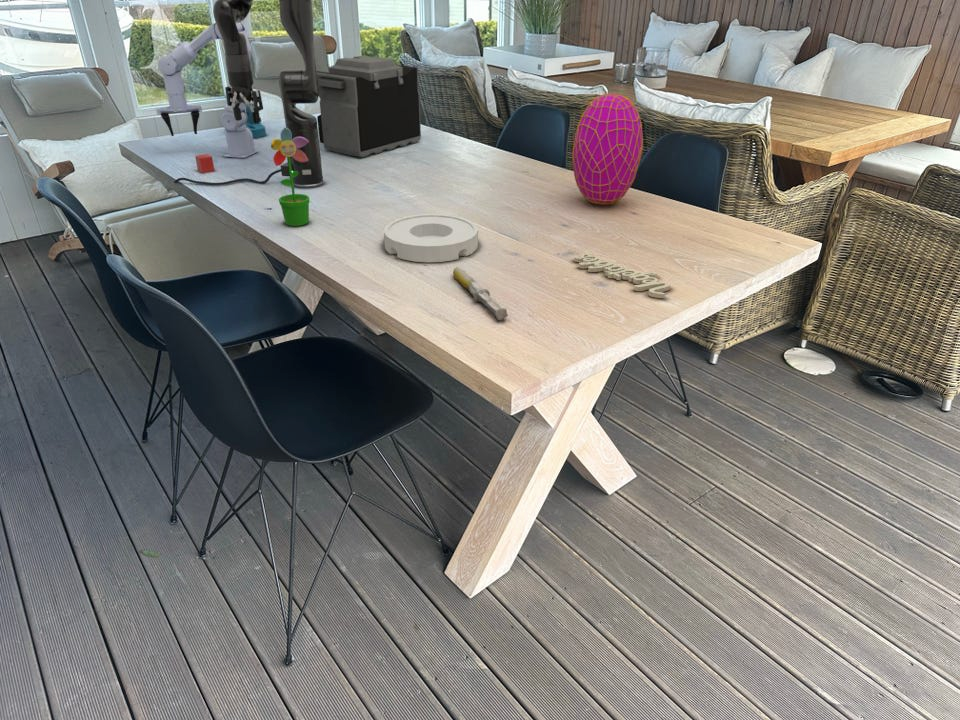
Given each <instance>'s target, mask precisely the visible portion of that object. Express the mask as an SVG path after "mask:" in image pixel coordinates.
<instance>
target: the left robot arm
mask: <svg viewBox="0 0 960 720" xmlns="http://www.w3.org/2000/svg"><path fill="white" fill-rule="evenodd" d="M236 26H237V29H238V31H239V32H240V33H242V34H244V35H245V37H246V41H247V48H248V54H249V58H250V60H251V59H252V46H251V43H250V40H249V37H248V34H247V27H246V26H245V25H244V23H243V21H242V22H240V23H236ZM215 40H222V41H223V39H222V37H221V35H220V32H219V30H218V27H217V25H216V22H213V23H212V24H210V25H209V26H208V27H206V28H205V29H204V30H203V31H202V32H201V33H199V34H198V35H197V36H196V37H194V38H193V39H192V40H191V41H180V42H178V43H177V44H176V45H177V47H175V48H174V49H173V50H168V51H167V55H163V56H160V58H159V59H158V60H157V68H158V70H159V72H160V73H162V78H163V82H164V87H165V92H166V95H167V100H168V101H167V102H168V106H166V107H165V106H164V107H156V108H155V110H156V114H157V116H160V117H161V119H162V120H163V121H164V123H165V124H166V126H167V128H168V130H169V132H170V136H171V137H174V136H175V134H174V131H173V128H172V121H171V117H170V115H173V114H174V115H175V114H187V113H190V116H191V121H192V126H193V127H192V128H193V133H194V135H198V124H199V123H198V122H199V119H200V116H201V115H200V113H202V112H203V108H202V105H200V104H199V105H188V102H187V98H186V97H187V96H186V93H185V88H184V83H183V78H182V77H183V76H182V71H183V69H184V68H185V67H186V66H187V65H188V64H190V63H191V62H193V61H194V60H195V59H196V58H197V57H198V51H200V50H201V49H203V48H204V47H205V46H207V45H209V44H210V43H211V42H212V41H215ZM229 86H231V85H230V84H229ZM230 101H232V99H231V98H230ZM239 108H240V110H241V116H242V120H239V121H237V120H235V117H234V111H233V108H232V107H231V106H228V105H227V102H226V104H225V106H224V108H223V109H224V110H223V112H222V114H221V115H220V117H219V121H220V124H221V126H222V127H223V129H224V132H225V137H226V144H227V150H228V151H227V152H228V153H227V154H226V153H225V154H224V155H223V156H224V157H226V158H236V159H238V158H239V159H246V158H247V157H250V156H251V155H254V154H256V153H258V150H256V148H255V142H254V141H255V140H254V138H253V135H252V132H251V131H250V129H248V128H247V127H246V125H245V123H246V122H247V114H246V105H245V103H241V104H240V107H239Z"/></svg>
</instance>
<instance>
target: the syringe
mask: <svg viewBox="0 0 960 720" xmlns="http://www.w3.org/2000/svg"><path fill="white" fill-rule="evenodd" d="M452 274H453V277H454V279H455V280H457V281H458V282H459V283H460V285H462V287H464V289H466V290H467V291H468V293H470V295H471V296H472V298H473V300H474V302H477V303H478V302H480V303H482V304H483V305H484V306H485V307H486V308H487V309H488V310H489V311H490V312H491V313H492V314H493V315H494V316H495V317H496V320H497V321H503V320H504V319H506V318H507V317H509V314H508V310H507V308H506V307H502V306H501V305H500V303H498V302H497V301H496V300H494V299H493V298H492V297H491V296H490V295H491V293H490V290H488V289H486V288H483V287H482V286H481V285H480V284H479V283H478V282H477V281H476V280H474V278H473V277H471V275H469V274H468V273H467V272H466V270H465V269H464V268H463V267H462V266H456V267H454V268H453V271H452Z"/></svg>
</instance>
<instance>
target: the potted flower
mask: <svg viewBox="0 0 960 720" xmlns="http://www.w3.org/2000/svg"><path fill="white" fill-rule="evenodd" d="M307 143H309V141H308V140H307V139H305V138H304V137H300V136H299V137H295V138H293V139H292V134H291V131H290V130H289V129H288V128H286V127H284V128H283V129H282V130H281V131H280V139H279V138H273V139H272V141H271V145H270V148H271V149H272V150H274V151H275V153H274V155H273V163H274V165H275V167H277V166H281V165H283V164H284V163H285V161H286V160H287V158H288V161H287V162H288V165H289V173H290V176H289V178H284V179H282V180H281V181H280V184H281V185H282V186H285V187H291V193H290V194H286V195H282V196H280V197H279V198H278V202H279V205H280V207H281V210H282V215H283V219H284V223H285V225H287V226H290V227H291V226H292V227H301V226H304V225H306V224H309V222H310V206H309V205H310V196H309V195H307V194H303V193H296V192H295V191H296V190H295V186H294V183H293V178H294V177H296V176H297V175H298V174H299V172H297V171H294V172H292V168H291V160H290V157H292V158H293V159H295V160H296V161H298V162H307V161H308V158H307V156H306V155H305V153H304V152H302V151H301V150H299V149H297V148H301V147H303V146H305V145H306V144H307Z"/></svg>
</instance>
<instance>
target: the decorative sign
mask: <svg viewBox="0 0 960 720" xmlns="http://www.w3.org/2000/svg"><path fill="white" fill-rule="evenodd" d="M574 262H575V263H578V269H588V270H587V272H588V273H598V272H603V273H604V276H606V277H607V278H608V279H614V280H617V281H621V279H622V280H627V281H628V282H630V283H633V284H634V285H633V291H636V292H643V291H647V290H648V293H647V294H648V296H649V297H652V298H656V299H664V298H665V295H666V292H668V291H669V290H670V289H671V283H670V282H668V281H659V279H658V272H657V271H648V272H639V271H637V270H634V269H630V268H628V267H627V266H626V267H625V266H624V265H619V264H618V263H615V262H611V261H610V260H604V258H601V257H598V256H596V255H592V254H590V253H587V252H586V253H582V254H581V255H580V256H578V255H575V256H574Z"/></svg>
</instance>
